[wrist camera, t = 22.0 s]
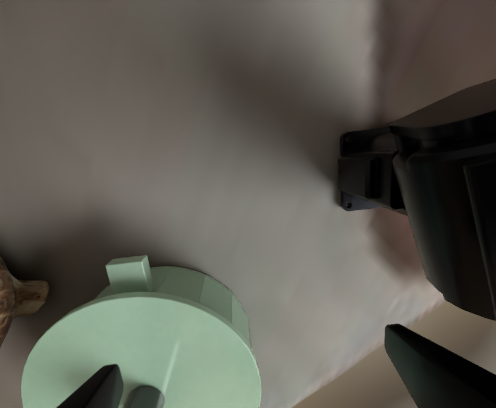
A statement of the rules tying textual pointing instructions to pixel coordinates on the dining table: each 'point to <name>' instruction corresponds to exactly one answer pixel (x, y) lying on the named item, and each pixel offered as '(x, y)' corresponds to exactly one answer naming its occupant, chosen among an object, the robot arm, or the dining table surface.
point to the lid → (145, 355)
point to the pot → (175, 287)
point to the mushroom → (18, 298)
